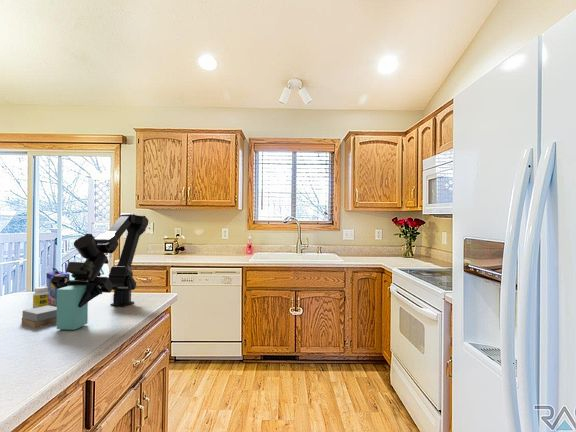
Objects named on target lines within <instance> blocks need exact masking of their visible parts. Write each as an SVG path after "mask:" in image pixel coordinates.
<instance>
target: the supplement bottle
mask: <svg viewBox="0 0 576 432" xmlns="http://www.w3.org/2000/svg"><path fill="white" fill-rule="evenodd" d="M47 291H48V287H47V286H37V287H34V293H33V295H32V309H33V308H38V307H43V306H48V305H49V302H48V296H49V293H48V292H47Z"/></svg>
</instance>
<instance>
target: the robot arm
mask: <svg viewBox="0 0 576 432" xmlns="http://www.w3.org/2000/svg"><path fill="white" fill-rule="evenodd" d="M148 226H149V219H148V218H147V216H146V215H137V214H134V213H131V212H130V213H129V212H128V213H127V212H126V213H125V212H124V213H121V214H120V215H119V218H118V219H117V220H115V222H114V223H113V224H112V225H111V227H110V228H109V229H108V230H107V231H106V232H104V233H101V234H99V235H98V236H96V237H94V236H93V234H92V233H85V235H82V236H80V237H78V238H77V239H75V240H74V242H73V247H74V248H75V250H76V251H77V252H78V253H79V254H80V256H81V257H82V258H83V259H85V261H84V262H81V261H69V262H68V263H67V267H66V269H65V273H68V274H71V277H72V278H73V279H70V278H69V279H68V277H67V276H54V277H53V278H52V279H51V281H50V282H51V283H52V284H53V285H54V287H55V288H56V289H60V288H63V287H66V286H70V285H80V286H87V287H86V291H85V293H84V295H83V297H82V298H81V300H80V302H79V305H78V307H79V308H81V307H82V306H83V305H85V304H86V303H87V302H88V303H89V302H90V301H92V300H93V299H95V298H96V297H98V296H99V295H102V294H104V293H108V294H109V293H111V292H112V291H113V295H112V296H113V299H112V301H113V303H110V306H111V307H112V306H114V307H127V306H129V305H132V304H134V303H135V301H133V300H132V291H133V290H135V289H136V287H137V282H136V280H135V279H134V277H133V276H134V273H133V269H132V265H133V260H134V257H135V254H136V250H137V246H138V243H139V240H140V237H141V235H142V234H143V233H145V232H146V230H147V228H148ZM126 231H127V235H126V238H125V240H124V244H123V247H122V250H121V254H120V257H119V260H118V262H117V265H115V266H114V265H113V266H111V268H110V272H109V274H108V277H107V276H101V275H102V273H101V270H102V269H103V266H104V265H106V264H107V265H108V264H109V262H110V261H109V259H108V256H107V255H106V254H114V252H115V251H116V249H117V247H118V246H119V239H120V238H121V237H122V236H123V235H124V233H125V232H126Z"/></svg>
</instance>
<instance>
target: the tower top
mask: <svg viewBox="0 0 576 432" xmlns="http://www.w3.org/2000/svg"><path fill="white" fill-rule="evenodd" d="M55 317H57V306H55V305H54V306H53V305H49V304H48V306H43V307H38V308H33V307H32V308H28V309H23V310H22V317H21V319H22V318H24V319H28V320H32V321H35V322H38V321H42V320H47V319H51V318H55Z"/></svg>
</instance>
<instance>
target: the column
mask: <svg viewBox="0 0 576 432" xmlns="http://www.w3.org/2000/svg"><path fill="white" fill-rule="evenodd" d="M86 287H87V286H80V285H70V286H66V287H63V288H60V289H57V305H56V307H57V323H56V330H68V331H69V330H77V329H79V328H81V327H83V326H85V325H87V324H88V323H89V322H88V317H89V315H88V311H89V310H88V309H89V307H88V306H89V302H87V303H86V304H85V305H83V306H82V307H81V308H79V307H78V305H79V302H80V300H81V298H82V297H83V295H84V293H85V291H86Z"/></svg>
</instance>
